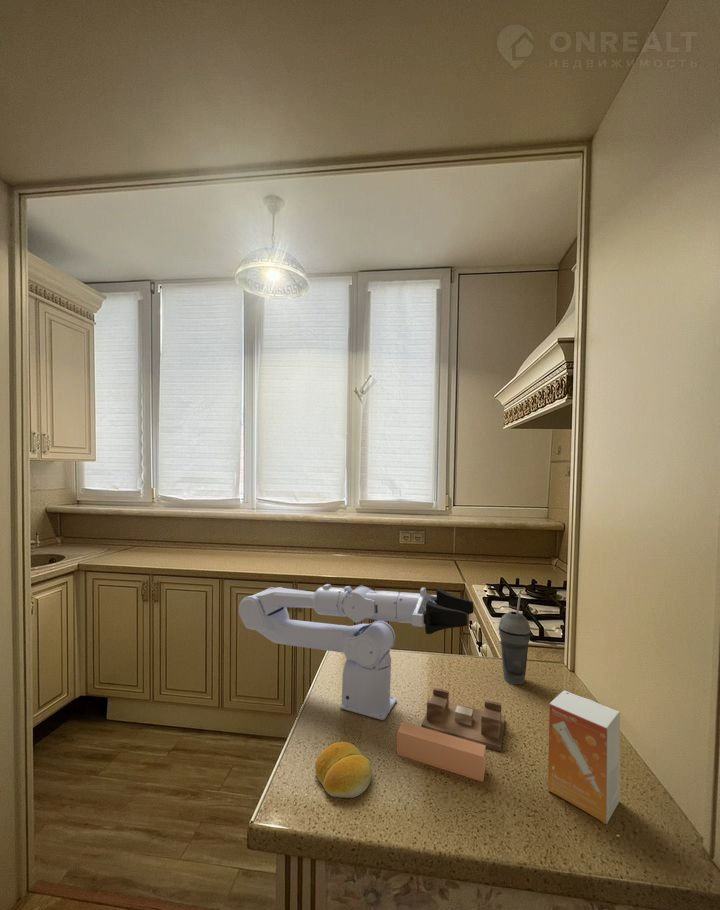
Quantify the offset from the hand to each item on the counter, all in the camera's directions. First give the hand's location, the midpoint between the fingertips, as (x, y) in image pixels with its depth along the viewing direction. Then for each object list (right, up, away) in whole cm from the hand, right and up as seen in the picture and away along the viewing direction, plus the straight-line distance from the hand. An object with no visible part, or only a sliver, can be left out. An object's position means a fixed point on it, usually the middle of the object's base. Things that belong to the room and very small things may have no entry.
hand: (470, 613), depth 75 cm
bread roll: (-23, -21, -13) cm, 34 cm away
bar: (-7, -21, -9) cm, 24 cm away
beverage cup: (+16, -23, +19) cm, 34 cm away
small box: (+13, -21, -16) cm, 29 cm away
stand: (-1, -22, +1) cm, 22 cm away
